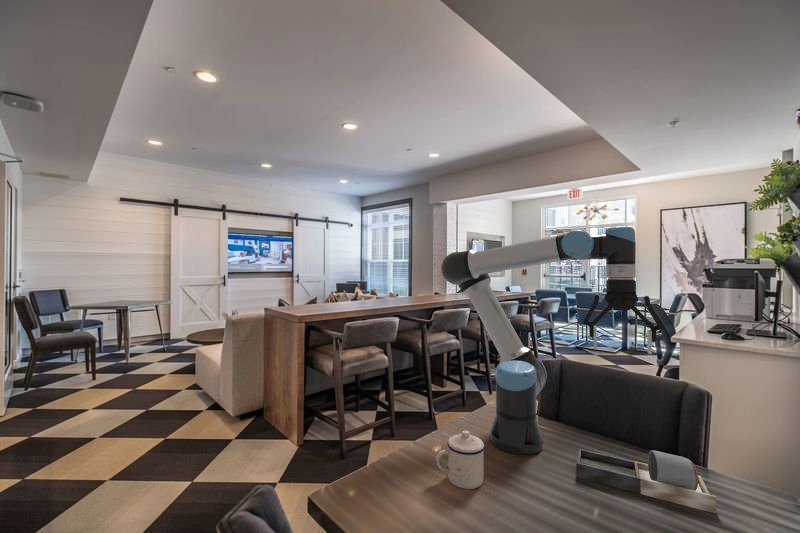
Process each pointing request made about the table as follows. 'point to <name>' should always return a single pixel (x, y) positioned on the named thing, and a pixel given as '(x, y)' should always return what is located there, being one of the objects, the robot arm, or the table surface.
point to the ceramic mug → (672, 470)
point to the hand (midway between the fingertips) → (621, 350)
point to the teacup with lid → (464, 460)
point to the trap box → (644, 482)
